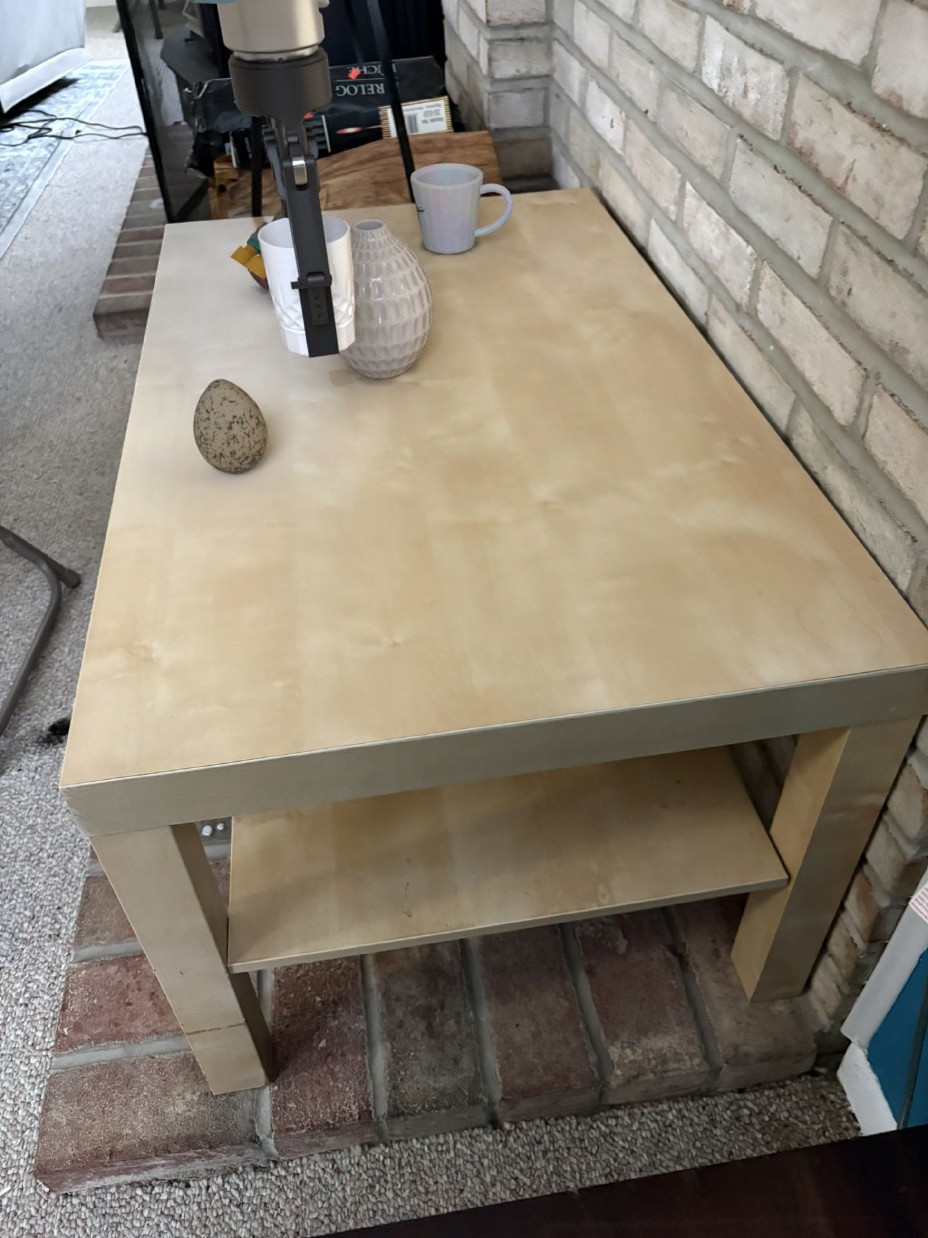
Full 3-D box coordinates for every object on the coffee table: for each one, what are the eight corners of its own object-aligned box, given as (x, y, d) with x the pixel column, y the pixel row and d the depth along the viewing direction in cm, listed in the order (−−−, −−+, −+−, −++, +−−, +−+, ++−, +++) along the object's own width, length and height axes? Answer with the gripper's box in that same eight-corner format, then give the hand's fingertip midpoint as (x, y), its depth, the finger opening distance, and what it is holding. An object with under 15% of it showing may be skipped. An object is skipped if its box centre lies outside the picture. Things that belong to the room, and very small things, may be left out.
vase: (331, 398, 105) (310, 252, 94) (327, 347, 114) (307, 208, 103) (443, 387, 106) (435, 241, 95) (429, 337, 115) (421, 199, 104)
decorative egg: (189, 472, 95) (165, 384, 88) (243, 442, 99) (223, 356, 92) (235, 496, 91) (213, 407, 85) (288, 464, 95) (271, 376, 89)
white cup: (308, 369, 81) (290, 256, 75) (260, 339, 86) (240, 230, 79) (379, 340, 85) (368, 230, 78) (330, 313, 90) (316, 207, 83)
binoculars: (265, 295, 131) (217, 246, 123) (306, 247, 131) (262, 194, 123) (297, 317, 126) (249, 267, 118) (340, 266, 126) (296, 213, 118)
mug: (423, 230, 142) (419, 160, 136) (518, 234, 140) (519, 164, 133) (407, 256, 135) (402, 184, 128) (507, 261, 132) (507, 188, 126)
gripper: (345, 75, 63) (376, 379, 78) (310, 18, 77) (343, 284, 93) (234, 85, 62) (288, 392, 77) (220, 26, 76) (268, 294, 92)
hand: (318, 333), depth 85 cm, fingers closed on white cup, 8 cm apart
